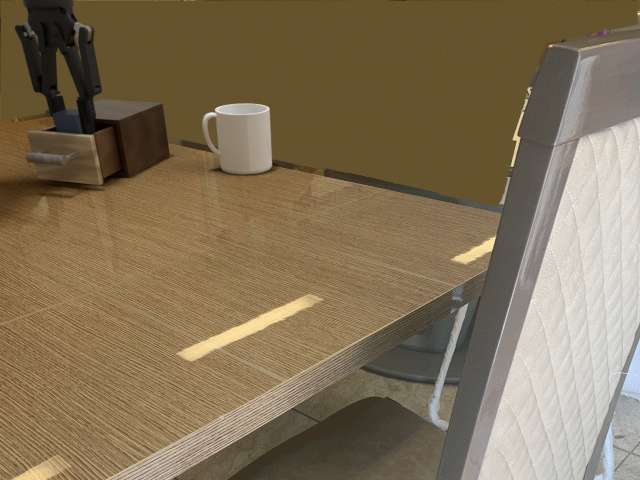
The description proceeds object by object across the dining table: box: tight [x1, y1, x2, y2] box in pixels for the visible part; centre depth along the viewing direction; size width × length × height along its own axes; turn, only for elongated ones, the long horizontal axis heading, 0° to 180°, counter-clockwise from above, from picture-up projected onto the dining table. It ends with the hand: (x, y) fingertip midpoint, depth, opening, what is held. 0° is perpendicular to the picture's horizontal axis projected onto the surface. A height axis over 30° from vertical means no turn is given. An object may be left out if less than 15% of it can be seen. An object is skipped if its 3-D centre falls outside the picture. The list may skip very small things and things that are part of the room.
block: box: [53, 107, 83, 134], centre depth 112 cm, size 5×5×5 cm
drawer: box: [25, 124, 123, 186], centre depth 114 cm, size 20×13×8 cm, turn 162°
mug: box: [202, 103, 273, 175], centre depth 120 cm, size 13×10×10 cm
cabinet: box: [52, 98, 171, 178], centre depth 123 cm, size 16×14×10 cm
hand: (78, 138), depth 113 cm, fingers closed on block, 5 cm apart
